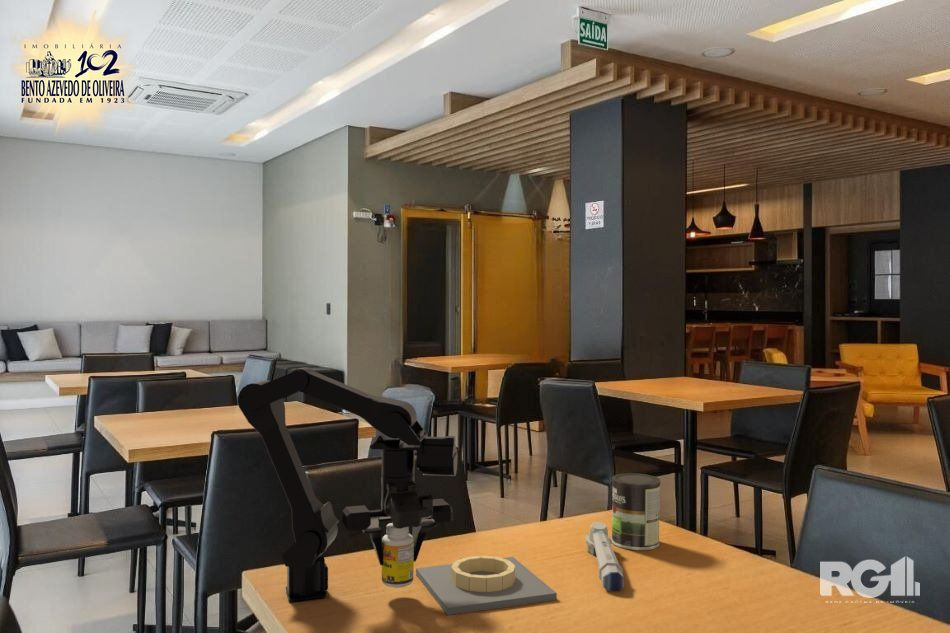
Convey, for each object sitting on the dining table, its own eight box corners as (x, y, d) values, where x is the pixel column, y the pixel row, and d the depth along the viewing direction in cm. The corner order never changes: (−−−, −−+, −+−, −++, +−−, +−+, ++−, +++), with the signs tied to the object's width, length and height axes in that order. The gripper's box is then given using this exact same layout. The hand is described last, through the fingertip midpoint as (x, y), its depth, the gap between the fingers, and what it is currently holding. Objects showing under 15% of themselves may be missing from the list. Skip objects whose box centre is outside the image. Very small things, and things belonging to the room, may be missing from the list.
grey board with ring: (447, 615, 125) (447, 592, 125) (415, 574, 144) (415, 555, 144) (556, 599, 131) (556, 578, 131) (512, 562, 150) (513, 544, 150)
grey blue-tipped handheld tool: (599, 571, 135) (584, 514, 160) (598, 606, 136) (584, 543, 161) (628, 571, 135) (609, 514, 160) (627, 606, 136) (608, 544, 161)
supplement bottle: (377, 580, 133) (377, 522, 133) (406, 575, 136) (406, 518, 136) (388, 591, 128) (388, 531, 128) (418, 585, 131) (418, 527, 131)
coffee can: (622, 552, 157) (622, 484, 157) (604, 537, 167) (605, 473, 167) (668, 549, 159) (668, 482, 159) (648, 534, 169) (648, 472, 169)
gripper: (353, 489, 121) (353, 585, 121) (463, 480, 127) (462, 572, 128) (341, 474, 132) (341, 563, 132) (443, 467, 138) (443, 551, 138)
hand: (397, 562), depth 132 cm, fingers closed on supplement bottle, 6 cm apart
